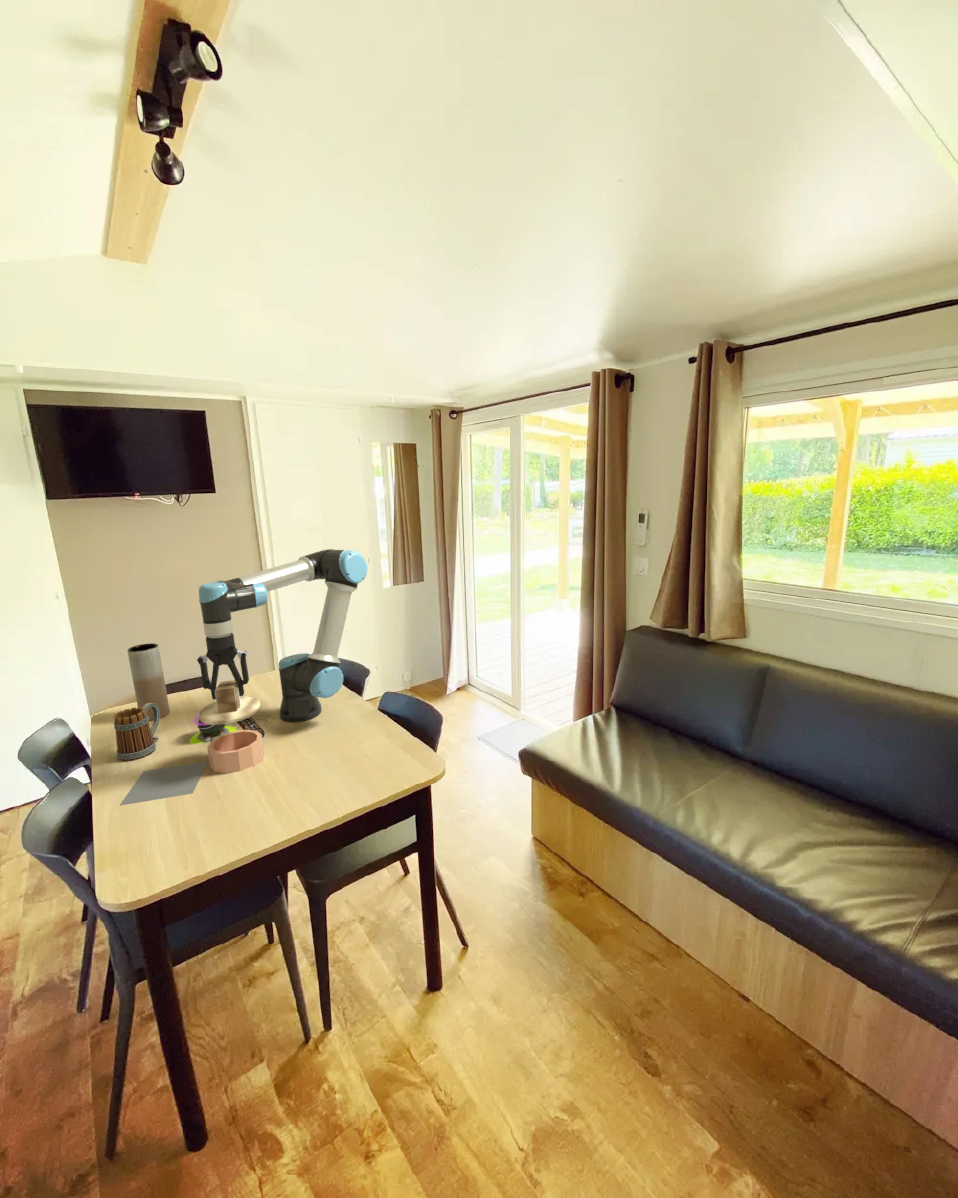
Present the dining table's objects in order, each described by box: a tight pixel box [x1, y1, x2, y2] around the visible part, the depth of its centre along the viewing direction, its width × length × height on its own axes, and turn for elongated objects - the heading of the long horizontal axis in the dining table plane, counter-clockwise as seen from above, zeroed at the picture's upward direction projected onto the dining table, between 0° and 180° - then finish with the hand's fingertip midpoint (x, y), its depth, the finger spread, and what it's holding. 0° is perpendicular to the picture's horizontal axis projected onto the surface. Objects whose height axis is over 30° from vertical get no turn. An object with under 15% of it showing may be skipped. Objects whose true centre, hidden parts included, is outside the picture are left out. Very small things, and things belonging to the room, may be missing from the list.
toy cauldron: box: [189, 706, 238, 745], centre depth 176 cm, size 15×15×11 cm
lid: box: [198, 679, 261, 725], centre depth 155 cm, size 17×17×9 cm
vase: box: [127, 643, 171, 722], centre depth 193 cm, size 10×10×28 cm
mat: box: [119, 760, 209, 806], centre depth 148 cm, size 18×18×1 cm
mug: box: [113, 703, 161, 762], centre depth 166 cm, size 16×11×15 cm
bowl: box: [207, 729, 265, 774], centre depth 159 cm, size 15×15×7 cm
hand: (230, 707), depth 155 cm, fingers closed on lid, 5 cm apart
